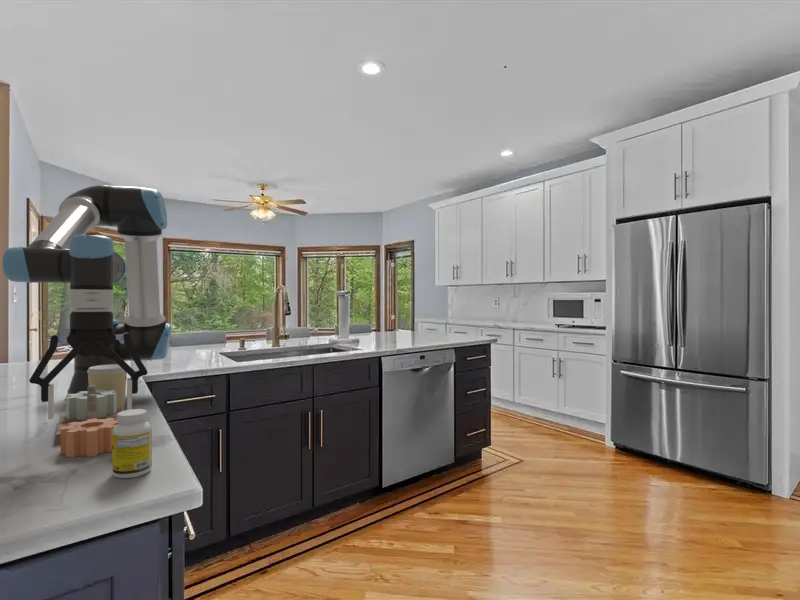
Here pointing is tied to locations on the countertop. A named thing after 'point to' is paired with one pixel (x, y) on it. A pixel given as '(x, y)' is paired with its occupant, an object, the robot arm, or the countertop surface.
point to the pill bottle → (131, 444)
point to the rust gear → (87, 437)
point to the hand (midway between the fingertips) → (91, 413)
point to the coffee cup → (109, 380)
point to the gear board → (66, 421)
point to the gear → (78, 404)
